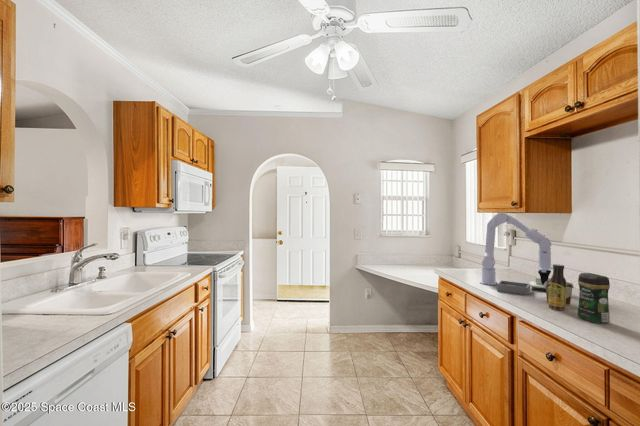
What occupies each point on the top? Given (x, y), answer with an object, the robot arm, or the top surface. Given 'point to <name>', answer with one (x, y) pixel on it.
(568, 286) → the food container
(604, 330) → the top surface
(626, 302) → the top surface
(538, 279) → the lid
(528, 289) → the tub
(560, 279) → the sauce bottle
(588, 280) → the coffee jar
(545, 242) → the robot arm
